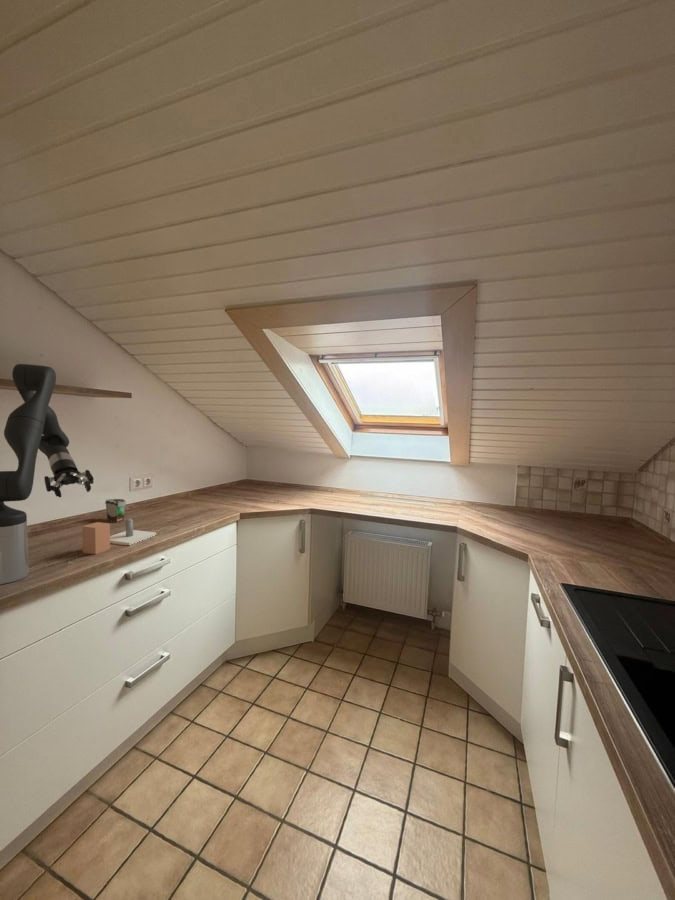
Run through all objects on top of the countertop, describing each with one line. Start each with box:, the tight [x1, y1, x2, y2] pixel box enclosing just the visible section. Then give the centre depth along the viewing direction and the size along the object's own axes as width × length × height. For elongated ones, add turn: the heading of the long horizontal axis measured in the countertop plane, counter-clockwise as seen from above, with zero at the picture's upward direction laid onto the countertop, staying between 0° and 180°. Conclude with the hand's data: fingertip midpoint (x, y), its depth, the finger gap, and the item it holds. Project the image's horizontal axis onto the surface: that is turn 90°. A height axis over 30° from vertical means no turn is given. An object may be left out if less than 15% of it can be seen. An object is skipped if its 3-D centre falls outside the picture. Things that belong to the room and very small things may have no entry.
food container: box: [104, 498, 127, 523], centre depth 171 cm, size 12×6×10 cm, turn 59°
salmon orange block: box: [81, 521, 111, 555], centre depth 129 cm, size 6×6×10 cm
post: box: [110, 518, 157, 546], centre depth 144 cm, size 14×14×8 cm
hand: (74, 492), depth 126 cm, fingers open, 8 cm apart
